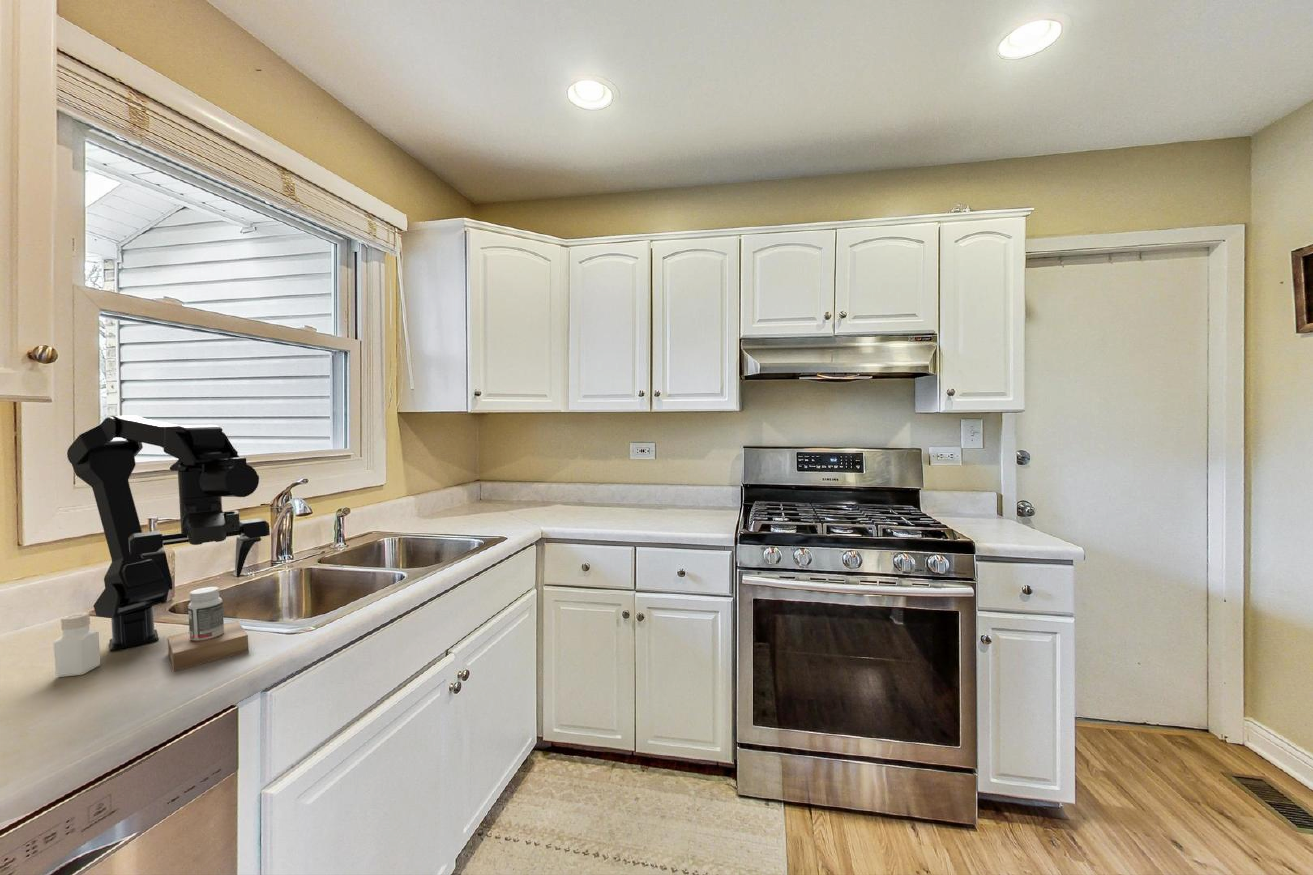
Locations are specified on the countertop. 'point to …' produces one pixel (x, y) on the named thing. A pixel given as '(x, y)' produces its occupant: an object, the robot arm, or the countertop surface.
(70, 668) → the pepper shaker
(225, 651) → the brown square block
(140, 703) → the countertop surface
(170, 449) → the robot arm
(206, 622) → the pill bottle
